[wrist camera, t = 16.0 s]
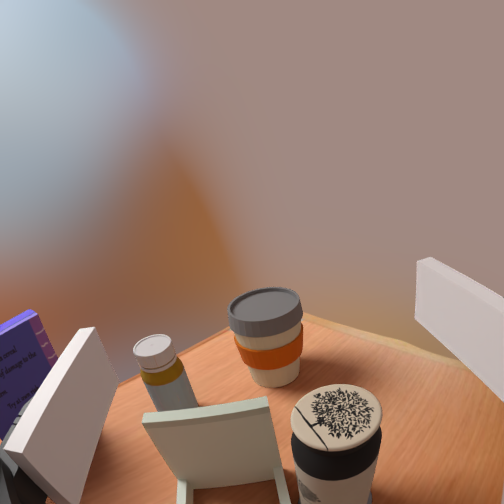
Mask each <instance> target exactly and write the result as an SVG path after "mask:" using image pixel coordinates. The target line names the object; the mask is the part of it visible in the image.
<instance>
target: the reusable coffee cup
mask: <svg viewBox="0 0 504 504" xmlns="http://www.w3.org/2000/svg"><path fill="white" fill-rule="evenodd" d="M227 310H228V318H229V326H230V328H231V330H232V331H234V334H235V335H234V340H235V343H236V345H237V348H238V350H239V353H240V355H241V357H242V360H243V361H244V363H245V364H246V365H247V366H248V368H249V371H250V373H251V375H252V378H253V380H254V381H255V382H256V383H257V384H258V385H260V386H263V387H268V388H275V387H281V386H284V385H287V384H289V383H291V382H292V381H293V380H295V379H296V377H297V376H298V374H299V369H300V355H301V353H302V349H303V325H302V323H301V318H302V316H303V311H302V307H301V303H300V299H299V296H298V294H297V293H296V292H295V291H293V290H291V289H287V288H282V287H267V288H260V289H256V290H252V291H249V292H246V293H244V294H241V295H240V296H238V297H236V298H235V299H233V300H232V301H231V302H230V304H229V305H228V309H227Z"/></svg>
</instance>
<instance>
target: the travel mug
mask: <svg viewBox="0 0 504 504" xmlns="http://www.w3.org/2000/svg"><path fill="white" fill-rule="evenodd" d="M381 420H382V408H381V405H380V402H379V401H378V399H377V398H376V397H375V396H374V395H373V394H372V393H371V392H369V391H368V390H366V389H364V388H361V387H358V386H355V385H349V384H334V385H328V386H324V387H320V388H318V389H315V390H313V391H311V392H309V393H308V394H306V395H305V396H304V397H302V398H301V399H300V400H299V401H298V402H297V404H296V405H295V407H294V409H293V411H292V414H291V427H292V430H293V434H292V438H291V446H292V452H293V458H294V464H295V470H296V476H297V483H298V489H299V495H300V501H301V504H367V501H368V497H369V493H370V490H371V486H372V481H373V477H374V473H375V468H376V464H377V459H378V454H379V449H380V444H381V438H382V432H381V428H380V423H381Z"/></svg>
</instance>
